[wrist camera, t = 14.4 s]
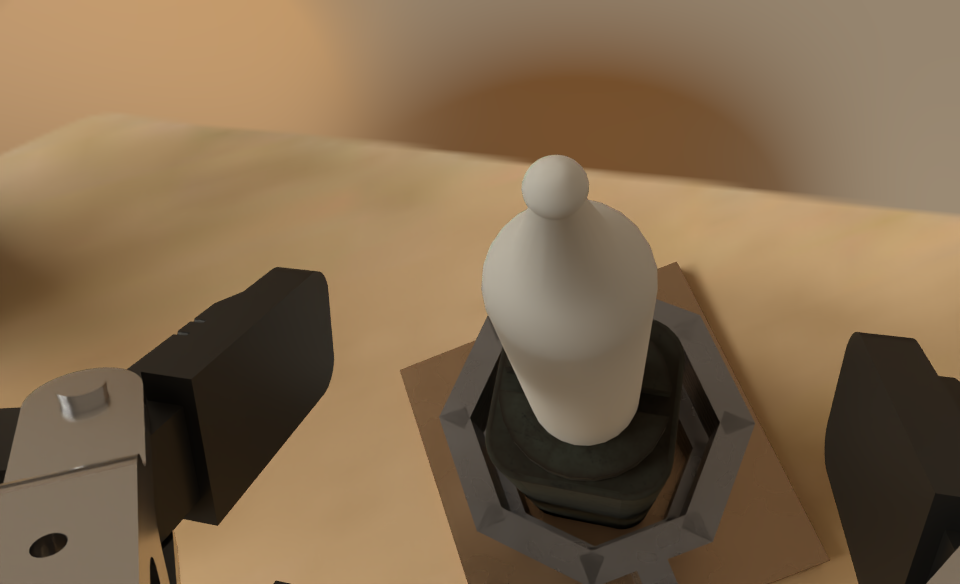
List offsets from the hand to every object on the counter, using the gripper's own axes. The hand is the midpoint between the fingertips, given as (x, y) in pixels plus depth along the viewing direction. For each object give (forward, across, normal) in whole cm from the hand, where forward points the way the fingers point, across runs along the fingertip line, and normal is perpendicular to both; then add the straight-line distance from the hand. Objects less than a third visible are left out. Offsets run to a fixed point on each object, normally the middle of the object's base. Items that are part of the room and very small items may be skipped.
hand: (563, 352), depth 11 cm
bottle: (+16, 0, +15) cm, 22 cm away
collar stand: (+17, 0, +15) cm, 23 cm away
